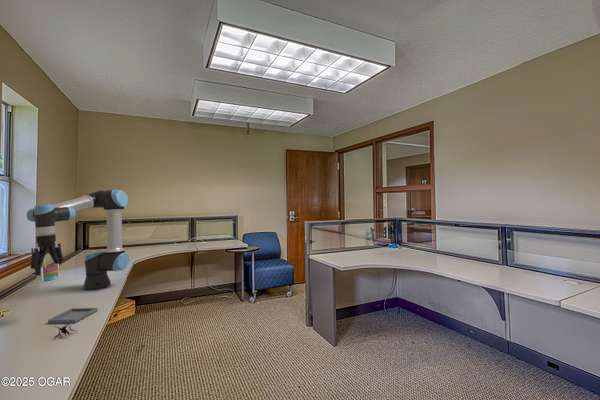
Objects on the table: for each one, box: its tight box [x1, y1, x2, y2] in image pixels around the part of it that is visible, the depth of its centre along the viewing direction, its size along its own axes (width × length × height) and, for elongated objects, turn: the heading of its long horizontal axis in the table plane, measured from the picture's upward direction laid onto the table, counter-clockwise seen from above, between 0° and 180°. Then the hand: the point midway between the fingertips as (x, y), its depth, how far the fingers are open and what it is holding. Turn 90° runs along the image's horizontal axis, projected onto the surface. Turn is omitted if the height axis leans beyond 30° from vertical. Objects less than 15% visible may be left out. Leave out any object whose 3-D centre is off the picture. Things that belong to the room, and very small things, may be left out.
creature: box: [53, 323, 78, 339], centre depth 127 cm, size 8×5×8 cm
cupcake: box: [42, 259, 60, 283], centre depth 149 cm, size 9×8×12 cm
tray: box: [47, 307, 99, 324], centre depth 147 cm, size 14×14×2 cm
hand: (48, 278), depth 149 cm, fingers closed on cupcake, 8 cm apart
